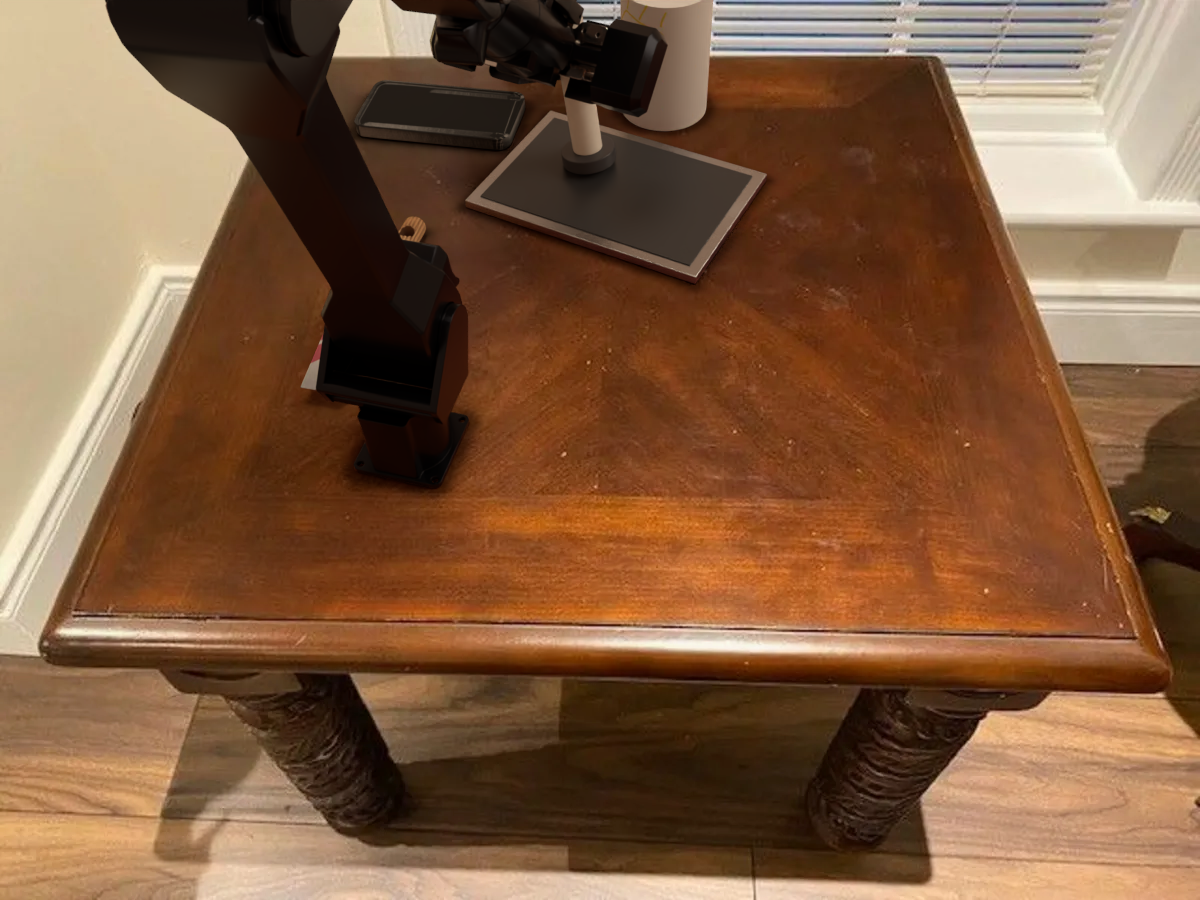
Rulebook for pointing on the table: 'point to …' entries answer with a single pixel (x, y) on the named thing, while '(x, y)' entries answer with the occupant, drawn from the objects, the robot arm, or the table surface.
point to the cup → (676, 60)
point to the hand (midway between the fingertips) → (584, 76)
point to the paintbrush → (409, 231)
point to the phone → (441, 114)
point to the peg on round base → (585, 137)
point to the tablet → (622, 198)
